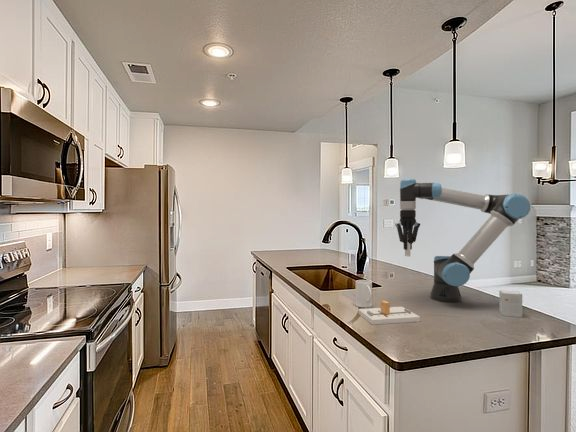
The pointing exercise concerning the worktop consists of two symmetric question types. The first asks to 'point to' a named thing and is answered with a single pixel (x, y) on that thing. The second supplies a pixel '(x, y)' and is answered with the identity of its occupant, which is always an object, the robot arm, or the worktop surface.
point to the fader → (385, 307)
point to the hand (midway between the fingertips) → (407, 256)
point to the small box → (510, 303)
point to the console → (388, 315)
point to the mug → (363, 293)
